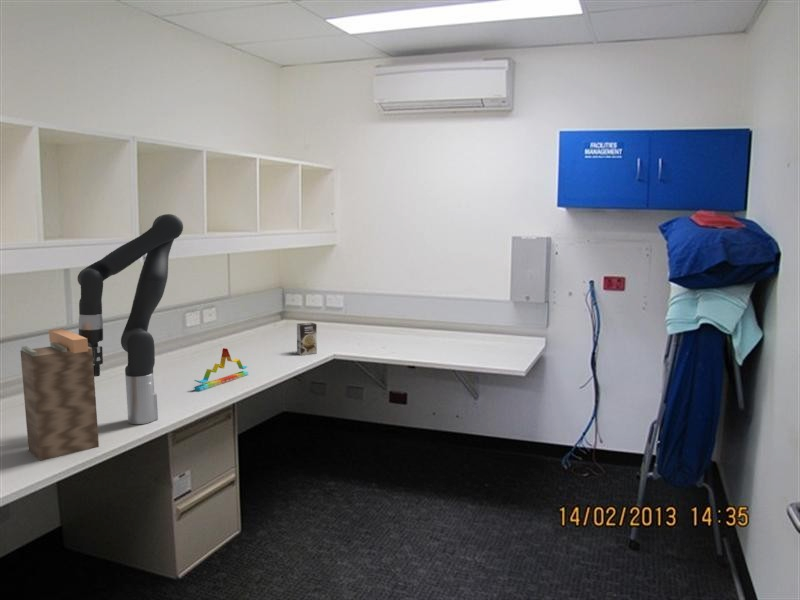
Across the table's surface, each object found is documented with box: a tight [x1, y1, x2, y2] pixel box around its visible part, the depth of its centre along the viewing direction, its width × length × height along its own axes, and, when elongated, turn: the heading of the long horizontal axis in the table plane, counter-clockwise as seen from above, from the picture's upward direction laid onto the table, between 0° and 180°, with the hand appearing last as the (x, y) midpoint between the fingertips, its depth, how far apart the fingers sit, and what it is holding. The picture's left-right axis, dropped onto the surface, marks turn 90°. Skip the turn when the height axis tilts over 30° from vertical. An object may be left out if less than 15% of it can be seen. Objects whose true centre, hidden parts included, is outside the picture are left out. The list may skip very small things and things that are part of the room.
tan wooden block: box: [48, 327, 88, 353], centre depth 203 cm, size 4×24×4 cm, turn 44°
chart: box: [194, 347, 249, 392], centre depth 281 cm, size 30×3×15 cm, turn 153°
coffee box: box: [296, 322, 318, 356], centre depth 339 cm, size 9×6×16 cm
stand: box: [20, 342, 100, 462], centre depth 201 cm, size 17×12×33 cm
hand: (91, 374), depth 220 cm, fingers open, 8 cm apart
